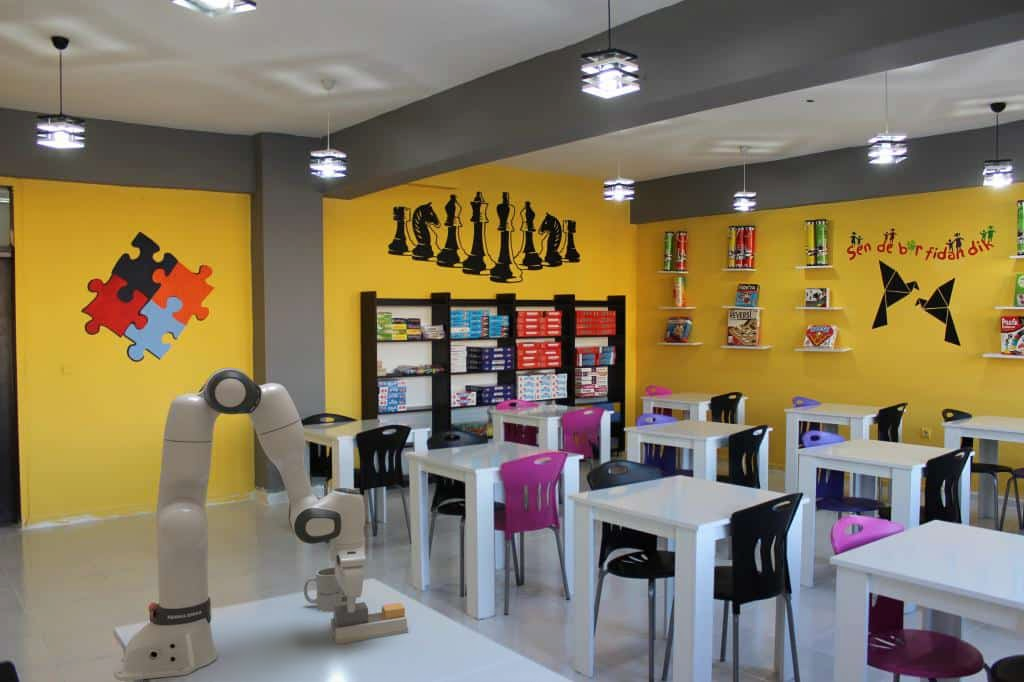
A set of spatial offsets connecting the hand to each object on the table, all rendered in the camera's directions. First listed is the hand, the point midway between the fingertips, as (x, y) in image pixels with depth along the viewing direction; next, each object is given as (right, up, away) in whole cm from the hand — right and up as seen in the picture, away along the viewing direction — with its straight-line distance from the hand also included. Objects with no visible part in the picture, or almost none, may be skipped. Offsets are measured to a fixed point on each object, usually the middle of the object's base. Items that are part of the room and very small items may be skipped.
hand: (347, 606), depth 208 cm
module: (+1, -6, 0) cm, 6 cm away
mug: (-11, -8, +24) cm, 27 cm away
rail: (+5, -7, +2) cm, 9 cm away
